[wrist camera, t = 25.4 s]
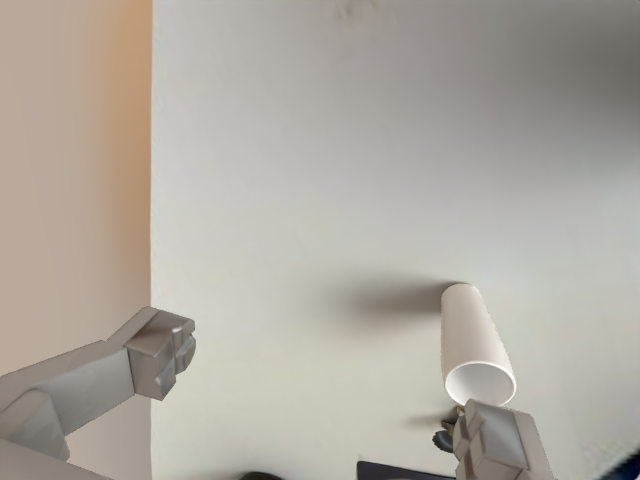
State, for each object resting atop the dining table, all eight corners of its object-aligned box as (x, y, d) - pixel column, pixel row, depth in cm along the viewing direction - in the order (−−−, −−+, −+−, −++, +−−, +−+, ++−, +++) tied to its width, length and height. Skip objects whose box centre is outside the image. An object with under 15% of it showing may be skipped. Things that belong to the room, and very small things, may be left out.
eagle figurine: (462, 391, 53) (421, 425, 56) (495, 438, 48) (448, 473, 51) (485, 395, 58) (446, 426, 61) (517, 438, 52) (474, 470, 55)
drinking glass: (434, 277, 47) (442, 359, 34) (489, 276, 45) (520, 362, 32) (435, 317, 50) (443, 407, 37) (487, 318, 48) (515, 413, 35)
